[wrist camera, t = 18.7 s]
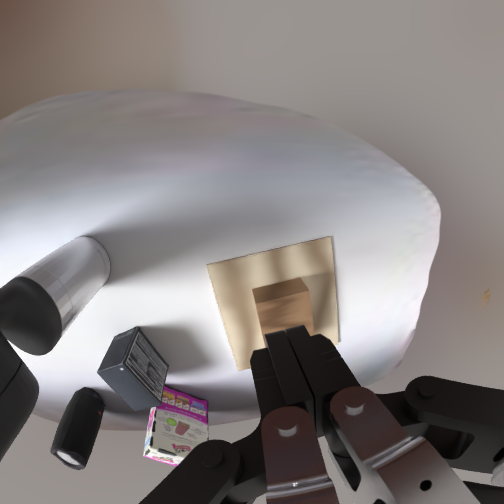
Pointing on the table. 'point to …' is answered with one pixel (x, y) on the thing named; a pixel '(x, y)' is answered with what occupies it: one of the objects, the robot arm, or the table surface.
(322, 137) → the table surface
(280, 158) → the table surface
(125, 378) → the small box
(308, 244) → the beige cloth mat
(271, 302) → the walnut block
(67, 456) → the portable speaker
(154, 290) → the table surface
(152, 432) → the candy bar box
